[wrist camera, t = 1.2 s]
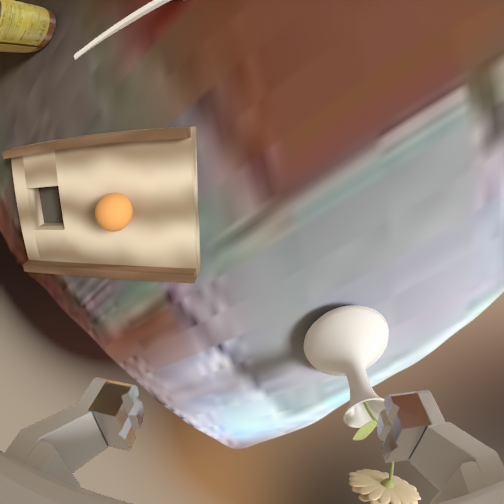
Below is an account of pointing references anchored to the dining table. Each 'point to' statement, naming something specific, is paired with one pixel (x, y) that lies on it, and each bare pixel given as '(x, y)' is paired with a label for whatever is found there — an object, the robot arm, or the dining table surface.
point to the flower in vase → (358, 387)
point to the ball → (113, 212)
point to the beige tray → (109, 181)
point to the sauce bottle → (24, 27)
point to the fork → (122, 24)
